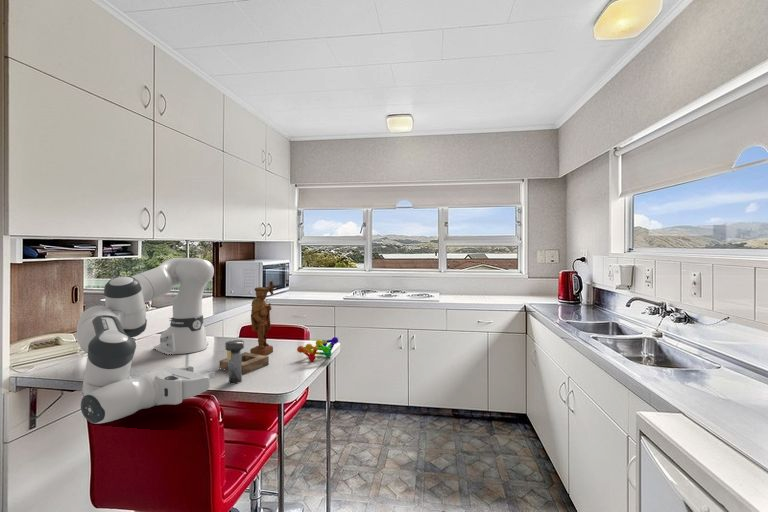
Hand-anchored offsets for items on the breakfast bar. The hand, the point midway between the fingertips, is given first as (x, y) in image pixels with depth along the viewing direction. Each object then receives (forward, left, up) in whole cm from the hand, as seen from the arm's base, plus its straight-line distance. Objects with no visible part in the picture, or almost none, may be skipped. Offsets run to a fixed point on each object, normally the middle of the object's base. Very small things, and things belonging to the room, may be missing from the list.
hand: (202, 371), depth 116 cm
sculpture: (-15, +39, -7) cm, 42 cm away
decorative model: (+9, +45, -7) cm, 46 cm away
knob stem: (0, +12, -7) cm, 14 cm away
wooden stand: (-9, +24, -7) cm, 27 cm away
